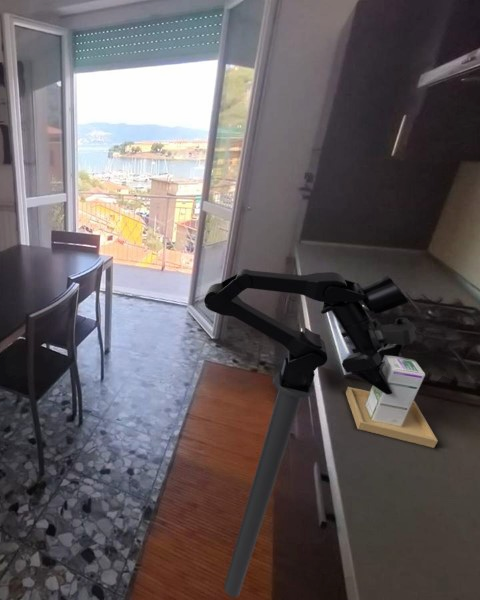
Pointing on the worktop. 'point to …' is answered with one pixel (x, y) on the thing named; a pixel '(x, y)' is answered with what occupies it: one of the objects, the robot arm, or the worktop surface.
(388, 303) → the robot arm
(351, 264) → the worktop surface
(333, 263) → the worktop surface
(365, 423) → the tray
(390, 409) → the syrup box
